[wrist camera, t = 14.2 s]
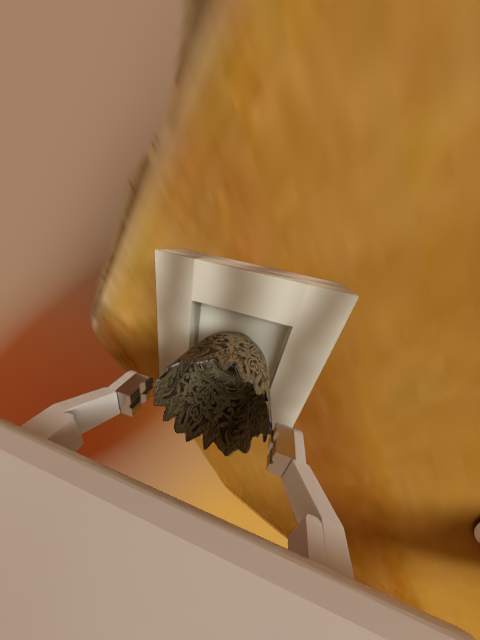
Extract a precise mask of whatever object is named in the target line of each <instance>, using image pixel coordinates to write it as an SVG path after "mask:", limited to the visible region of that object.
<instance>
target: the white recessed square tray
mask: <svg viewBox="0 0 480 640" xmlns="http://www.w3.org/2000/svg"><path fill="white" fill-rule="evenodd" d="M155 269H156V296H157V323H158V350H159V377H160V376H161V375H162V374H163V373H164V372H165V371H166V370H167V368H166V367H167V366H169V365H170V364H172V363H173V362H174V361H175V360H177V359H178V358H179V357H180V356H182V355H183V354H184V353H185V352H186V351H188V350H189V349H190V348H192V347H193V346H194V345H196V344H197V343H198V342H200V341H201V340H203V339H204V338H206V337H208V336H210V335H212V334H215V333H219V332H241V333H244V334H246V335H247V336H249V337H250V338H251V339H252V341H253V342H255V343H256V344H257V345H258V347H259V348H260V349H261V351H262V353H263V354H264V356H265V359H266V362H267V366H268V371H269V381H270V397H271V417H272V428H274V424H275V423H276V422H277V423H280V424H283V425H286V426H289V427H293V425H294V423H295V421H296V419H297V417H298V415H299V413H300V411H301V410H302V408H303V406H304V404H305V402H306V400H307V398H308V396H309V394H310V392H311V390H312V388H313V386H314V384H315V382H316V380H317V378H318V376H319V374H320V372H321V370H322V368H323V366H324V364H325V362H326V360H327V358H328V356H329V354H330V352H331V351H332V349H333V347H334V345H335V343H336V341H337V339H338V337H339V335H340V333H341V331H342V329H343V327H344V325H345V323H346V321H347V319H348V317H349V315H350V313H351V311H352V309H353V307H354V305H355V303H356V301H357V299H358V297H359V296H358V295H356V294H355V293H353V292H352V291H350V290H349V289H347V288H346V287H344V286H343V285H341V284H340V283H336V282H331V281H327V280H322V279H318V278H313V277H309V276H304V275H300V274H295V273H291V272H286V271H282V270H277V269H272V268H268V267H263V266H259V265H254V264H250V263H245V262H241V261H236V260H232V259H227V258H223V257H218V256H213V255H209V254H204V253H200V252H195V251H191V250H186V249H173V250H155Z"/></svg>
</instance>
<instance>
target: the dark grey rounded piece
mask: <svg viewBox="0 0 480 640" xmlns="http://www.w3.org/2000/svg"><path fill="white" fill-rule="evenodd" d="M166 368H167V370H166V371H165V372H164V373H163V374H162V375H161V376H160V377H159V378H157V380H156V381H155V383H154V385H153V387H155V388H157V390H156V391H155V394H154V401H153V404H154V406H165V407H167V408H166V410H165V412H164V415H163V421H169V420H170V419H172V418H173V417H175V416H176V419H175V424H174V429H175V432H176V433H185V434H186V442H187V441H190V440H192V439H194V438H195V437H198V436H200V435H201V433H203V447H204V450H205V449H207V448H208V447H209V446H210V445H211V443H212V442H214V443H215V444H216V445H217V447H218V449H219V450H221V451H222V452H223V454H224V455H225V456H229V455H231V454H232V453H233V452H234V451H236V450H238V449H239V450H240V451H241V452H242V453H247V452H248V451H249V449H250V444H251V440H252V437H255V436H256V437H258V436H259V434H260V433H262V434H263V442H265V441H266V439H267V434H270V435H271V434H272V417H271V397H270V381H269V371H268V366H267V362H266V359H265V356H264V354H263V353H262V351H261V349H260V348H259V347H258V345H257V344H256V343H255V342H253V341H252V339H251V338H250V337H249V336H247V335H246V334H244V333H241V332H219V333H215V334H212V335H210V336H208V337H206V338H204V339H203V340H201V341H200V342H198V343H197V344H196V345H194V346H193V347H192V348H190V349H189V350H188V351H186V352H185V353H184V354H183V355H182V356H180V357H179V358H178V359H177V360H175V361H174V362H173V363H172V364H170V365H169V366H167V367H166ZM175 414H176V415H175Z"/></svg>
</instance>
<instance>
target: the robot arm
mask: <svg viewBox="0 0 480 640" xmlns="http://www.w3.org/2000/svg"><path fill="white" fill-rule="evenodd" d="M152 382H153V378H151V377H148V376H146V375H143V374H140V373H138V372H135V371H132V370H130V371H128V372H127V373H125V374H124V375H123V376H121V377H120V378H119V379H118V380H116V381H115V382H114V383H113V384H111V385H110V386H109V387H107V388H106V387H104V388H101V389H98V390H95V391H92V392H89V393H86V394H83V395H80V396H77V397H74V398H71V399H68V400H65V401H62V402H60V403H56V404H53V405H51V406H50V407H48V408H47V409H45V410H44V411H43V412H41V413H40V414H38V415H37V416H35V417H34V418H32V419H31V420H29V421H28V422H26V423H25V424H23V425H22V426H20V427H19V426H17V425H15V424H13V423H10V422H8V421H6V420H4V419H2V418H0V640H476V639H475V638H474V637H473V636H472V635H470V634H469V633H467V632H466V631H464V630H462V629H460V628H459V627H457V626H455V625H453V624H450V623H448V622H446V621H444V620H441V619H439V618H437V617H435V616H432V615H430V614H428V613H426V612H423V611H421V610H419V609H417V608H415V607H413V606H410V605H408V604H406V603H404V602H402V601H400V600H397V599H395V598H393V597H391V596H389V595H387V594H384V593H382V592H380V591H378V590H376V589H373V588H371V587H369V586H367V585H365V584H363V583H360V582H358V581H356V580H355V579H354V574H353V569H352V565H351V560H350V555H349V550H348V546H347V541H346V536H345V532H344V527H343V526H342V524H341V522H340V520H339V518H338V517H337V515H336V513H335V511H334V509H333V508H332V506H331V504H330V502H329V501H328V499H327V497H326V495H325V493H324V492H323V490H322V488H321V486H320V484H319V483H318V481H317V479H316V477H315V475H314V474H313V472H312V470H311V468H310V466H309V465H307V464H306V458H305V448H304V439H303V433H302V431H300V430H297V429H294V428H292V427H289V426H286V425H283V424H280V423H277V422H276V423H275V424H274V430H272V434H271V435H270V437H269V442H268V449H269V454H268V456H267V467H266V471H268V472H271V473H273V474H275V475H278V476H280V477H282V478H281V479H282V482H283V484H284V487H285V490H286V493H287V496H288V499H289V501H290V504H291V507H292V510H293V513H294V516H295V518H296V521H297V524H298V525H297V527H296V528H295V529H294V530H293V531H292V532H291V533H290V534H289V535H288V549H286V548H284V547H282V546H280V545H277V544H275V543H273V542H271V541H268V540H266V539H264V538H262V537H260V536H258V535H255V534H253V533H251V532H249V531H247V530H245V529H242V528H240V527H238V526H236V525H234V524H231V523H229V522H227V521H225V520H223V519H221V518H218V517H216V516H214V515H212V514H210V513H207V512H205V511H203V510H201V509H199V508H197V507H194V506H192V505H190V504H188V503H185V502H183V501H181V500H179V499H177V498H175V497H172V496H170V495H168V494H166V493H164V492H162V491H159V490H157V489H155V488H153V487H151V486H148V485H146V484H144V483H142V482H140V481H137V480H135V479H133V478H131V477H129V476H127V475H124V474H122V473H120V472H118V471H115V470H113V469H111V468H109V467H107V466H105V465H102V464H100V463H98V462H96V461H94V460H92V459H89V458H87V457H85V456H83V455H81V454H78V453H76V451H77V450H78V449H79V448H80V447H81V446H82V444H83V439H82V436H81V434H83V433H84V432H86V431H88V430H90V429H92V428H94V427H95V426H97V425H99V424H101V423H103V422H105V421H107V420H108V419H110V418H112V417H114V416H116V415H118V414H120V413H123V414H126V415H129V416H131V417H133V416H134V415H135V414H136V413H137V411H138V410H139V409H140V408H141V404H142V403H144V402H146V401H147V400H148V399H149V398H150V396H151V395H152V393H153V386H152V384H151V383H152ZM474 535H475V538H476V540H477V541H478V542H479V544H480V523H478V525H477V526H476V527H475V530H474Z"/></svg>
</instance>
